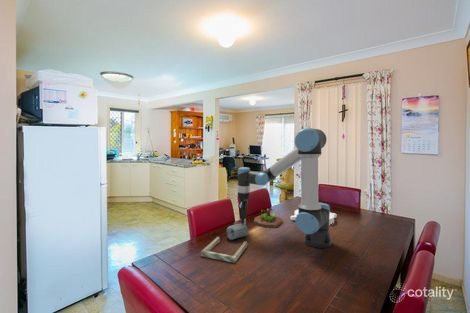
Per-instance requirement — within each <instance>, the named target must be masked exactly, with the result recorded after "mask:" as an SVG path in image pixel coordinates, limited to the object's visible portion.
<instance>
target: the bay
mask: <svg viewBox="0 0 470 313" xmlns="http://www.w3.org/2000/svg"><path fill="white" fill-rule="evenodd" d="M220 241H221V239H220V236H216V237H215V238H214V239H213V240H212V241H211V242H210V243H209V244H207V245H206V246H205V247H204V248H203V249H202V250H201V251H200V252H201V253H200V255H201V256H200V257H204V258H209V259H214V260H217V261H224V262H228V263H234V264H235V263H237V261H238V259H239V258H240V257H241V255H242V254H243V253H244V251H245V250H246V249H247V248H248V241H243V243H242V244H241V245H240V247H239V248H238V249H237V250H236V252H235V253H234V254H233V255H231V254H230V255H229V254H225V253H221V252H215V251H212V250H213V249H214V248H215V247H216V246H217V245H218V244H219V243H220Z"/></svg>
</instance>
